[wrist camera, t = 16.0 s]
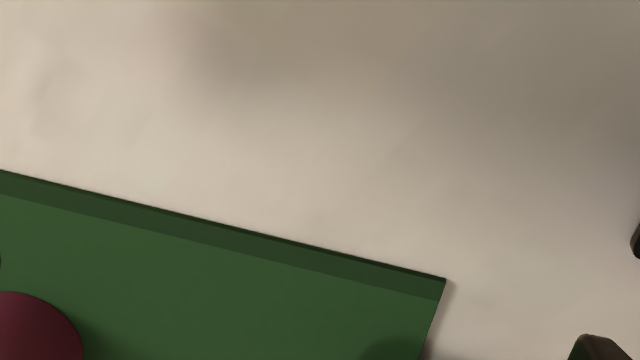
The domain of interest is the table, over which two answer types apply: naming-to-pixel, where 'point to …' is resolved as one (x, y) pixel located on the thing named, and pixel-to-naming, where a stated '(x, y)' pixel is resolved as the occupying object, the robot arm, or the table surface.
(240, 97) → the table surface
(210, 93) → the table surface
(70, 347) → the grape tub
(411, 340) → the cloth
